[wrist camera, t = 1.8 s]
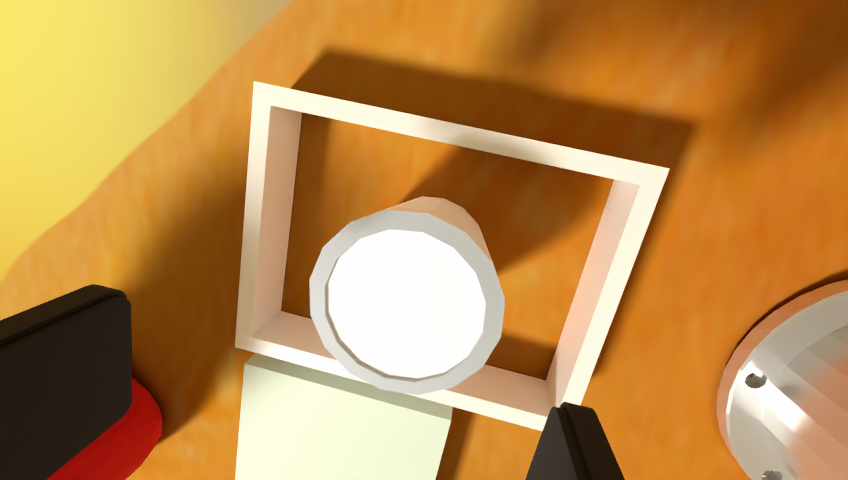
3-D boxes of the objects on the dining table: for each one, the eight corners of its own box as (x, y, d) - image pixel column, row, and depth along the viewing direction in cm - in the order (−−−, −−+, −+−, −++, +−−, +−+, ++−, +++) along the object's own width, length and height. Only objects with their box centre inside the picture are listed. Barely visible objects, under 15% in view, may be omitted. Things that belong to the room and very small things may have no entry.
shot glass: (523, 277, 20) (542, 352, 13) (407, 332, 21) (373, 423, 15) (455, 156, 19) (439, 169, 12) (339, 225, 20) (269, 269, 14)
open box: (639, 162, 17) (669, 168, 15) (556, 396, 21) (567, 438, 18) (288, 89, 19) (253, 80, 16) (266, 319, 22) (234, 347, 20)
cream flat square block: (454, 389, 22) (451, 420, 19) (416, 533, 25) (409, 575, 23) (269, 339, 23) (244, 363, 20) (255, 484, 26) (231, 519, 24)
